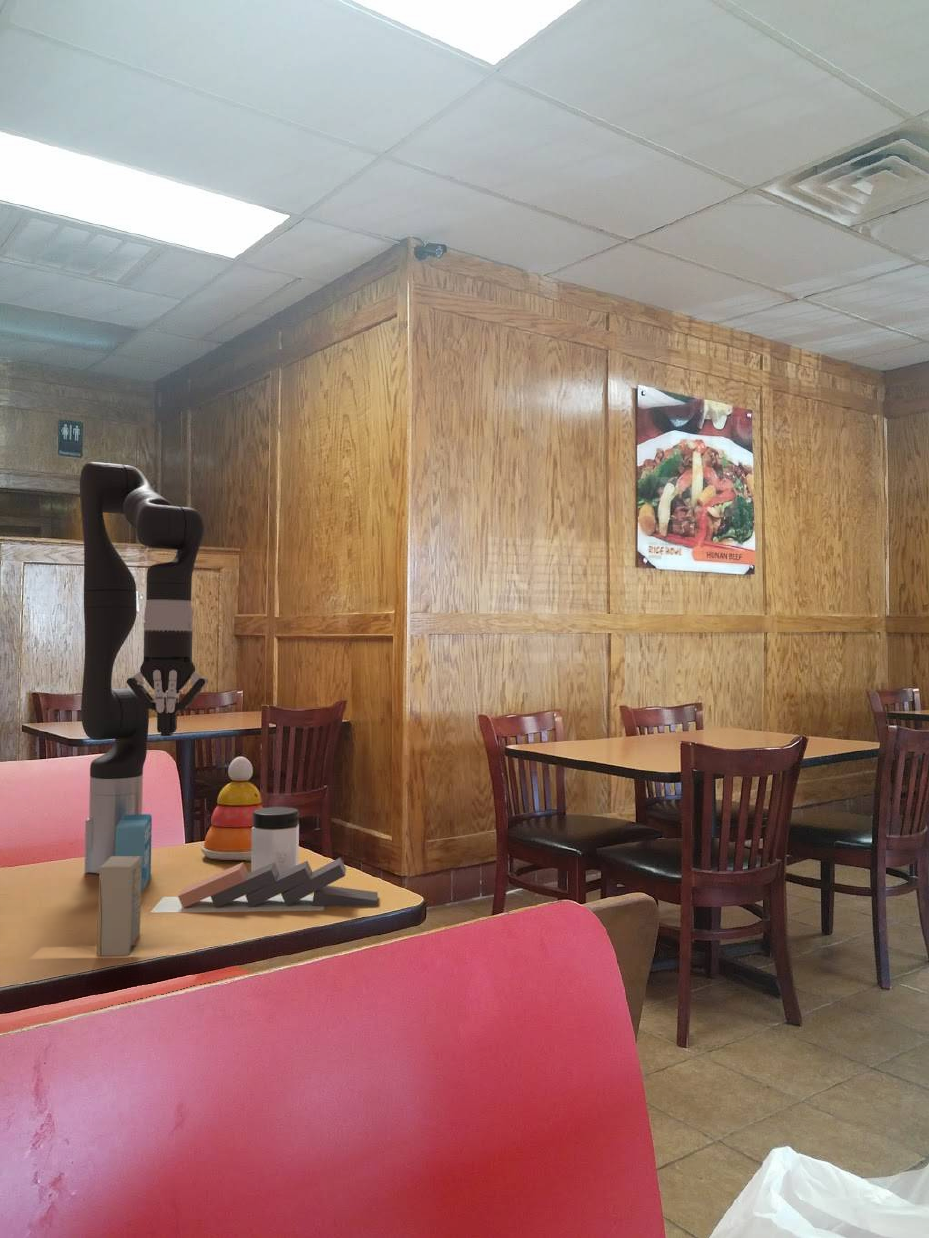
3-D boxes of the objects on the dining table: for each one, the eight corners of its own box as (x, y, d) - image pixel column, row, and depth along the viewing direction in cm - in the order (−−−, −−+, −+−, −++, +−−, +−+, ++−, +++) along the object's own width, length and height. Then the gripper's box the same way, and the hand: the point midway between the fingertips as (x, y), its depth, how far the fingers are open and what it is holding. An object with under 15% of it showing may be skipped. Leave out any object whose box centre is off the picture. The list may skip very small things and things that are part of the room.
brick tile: (177, 896, 148) (238, 869, 149) (184, 887, 153) (243, 862, 154) (182, 908, 148) (243, 881, 149) (189, 899, 153) (248, 873, 154)
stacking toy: (259, 866, 181) (261, 762, 182) (188, 862, 183) (190, 760, 184) (285, 850, 195) (286, 753, 196) (218, 847, 197) (220, 752, 198)
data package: (143, 898, 158) (144, 825, 158) (114, 900, 157) (115, 826, 157) (150, 880, 170) (152, 812, 170) (123, 881, 169) (125, 813, 169)
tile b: (210, 896, 148) (271, 869, 149) (215, 887, 153) (274, 862, 154) (215, 908, 148) (276, 881, 149) (220, 899, 153) (279, 873, 154)
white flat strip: (149, 920, 145) (150, 912, 145) (163, 904, 154) (163, 896, 154) (323, 917, 148) (323, 909, 148) (326, 901, 157) (326, 894, 157)
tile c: (245, 895, 149) (304, 867, 150) (249, 887, 154) (307, 860, 155) (250, 907, 149) (310, 879, 150) (254, 898, 154) (312, 871, 155)
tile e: (314, 891, 150) (377, 900, 150) (316, 883, 155) (377, 892, 155) (311, 904, 150) (375, 913, 150) (314, 896, 155) (375, 904, 155)
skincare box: (109, 942, 135) (110, 855, 135) (141, 942, 135) (143, 855, 135) (95, 957, 129) (97, 865, 129) (129, 956, 129) (131, 865, 129)
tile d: (281, 894, 149) (339, 864, 150) (284, 886, 154) (340, 857, 155) (286, 906, 149) (345, 875, 150) (289, 897, 154) (346, 868, 155)
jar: (259, 886, 166) (260, 816, 167) (242, 876, 173) (243, 809, 173) (307, 879, 171) (308, 812, 172) (289, 870, 178) (290, 805, 178)
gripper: (214, 629, 160) (212, 733, 160) (132, 628, 159) (130, 733, 159) (206, 628, 153) (204, 738, 152) (120, 627, 152) (118, 738, 151)
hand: (166, 735), depth 155 cm, fingers closed
